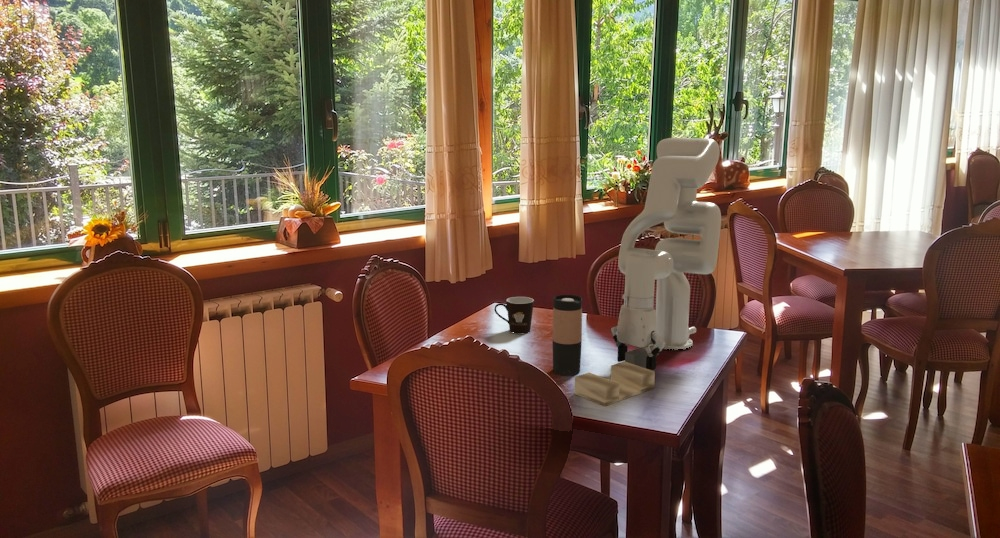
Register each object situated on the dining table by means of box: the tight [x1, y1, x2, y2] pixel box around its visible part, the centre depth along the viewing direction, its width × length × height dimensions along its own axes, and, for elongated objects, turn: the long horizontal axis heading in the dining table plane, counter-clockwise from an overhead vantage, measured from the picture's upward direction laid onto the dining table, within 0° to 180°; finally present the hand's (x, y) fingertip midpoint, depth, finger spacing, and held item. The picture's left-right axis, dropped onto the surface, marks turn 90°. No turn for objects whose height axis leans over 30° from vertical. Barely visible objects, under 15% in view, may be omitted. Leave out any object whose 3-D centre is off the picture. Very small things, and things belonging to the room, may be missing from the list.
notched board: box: [574, 361, 656, 407], centre depth 186 cm, size 18×10×4 cm, turn 129°
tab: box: [625, 348, 649, 368], centre depth 199 cm, size 6×3×6 cm, turn 129°
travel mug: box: [552, 294, 583, 377], centre depth 199 cm, size 8×8×20 cm
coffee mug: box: [493, 296, 535, 334], centre depth 237 cm, size 12×9×10 cm
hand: (636, 365), depth 198 cm, fingers open, 9 cm apart
